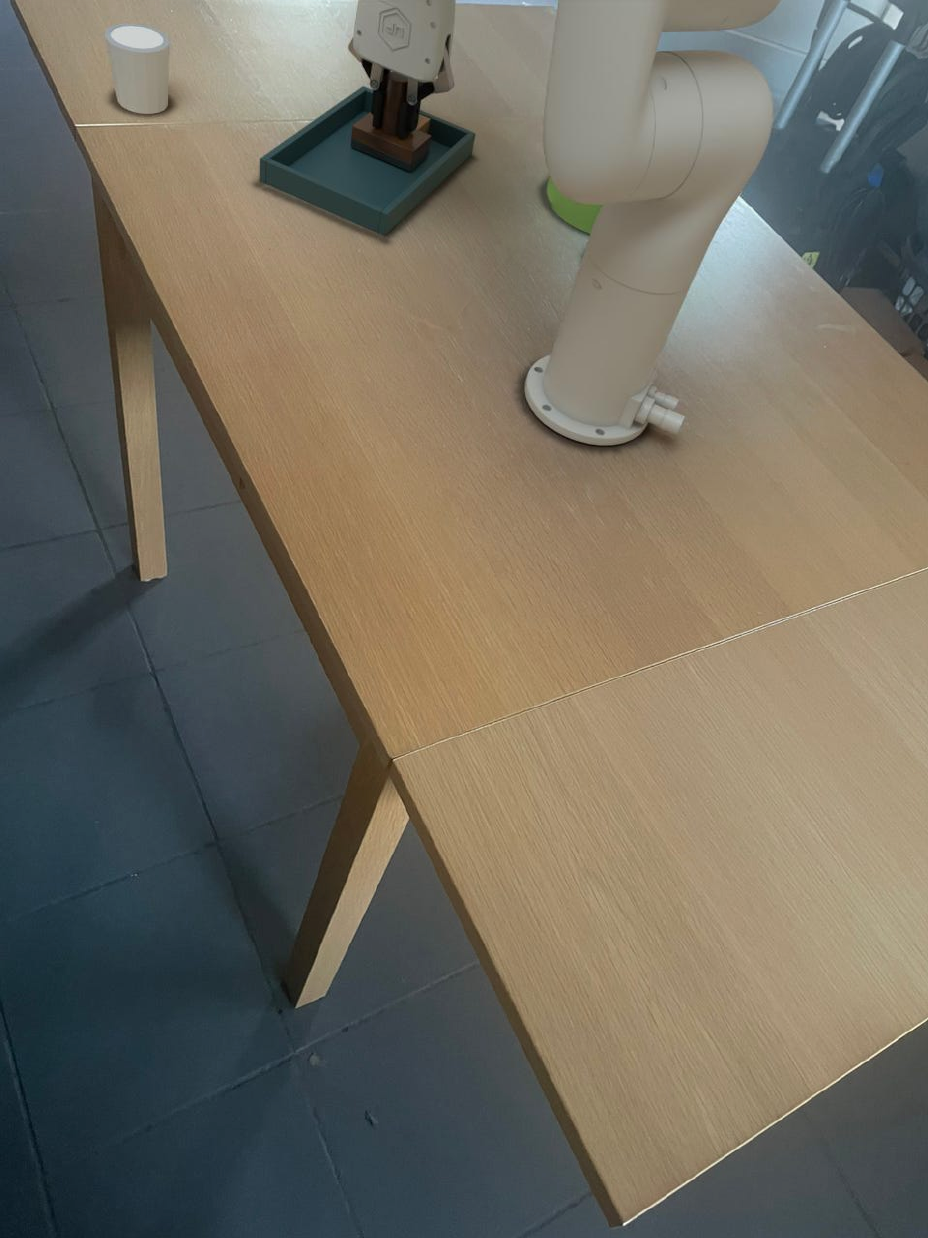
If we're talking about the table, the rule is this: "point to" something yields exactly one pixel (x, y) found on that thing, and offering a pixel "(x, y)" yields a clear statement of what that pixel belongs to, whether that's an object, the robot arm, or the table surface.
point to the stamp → (391, 131)
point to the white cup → (139, 66)
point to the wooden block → (423, 124)
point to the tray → (360, 167)
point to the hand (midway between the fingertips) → (393, 127)
